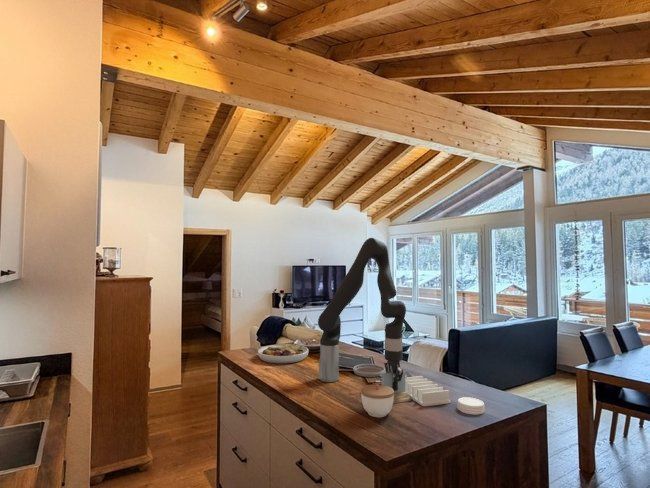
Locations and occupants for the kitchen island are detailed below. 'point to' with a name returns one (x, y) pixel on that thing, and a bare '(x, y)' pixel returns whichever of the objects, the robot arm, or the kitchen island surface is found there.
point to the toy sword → (369, 370)
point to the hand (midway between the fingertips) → (393, 389)
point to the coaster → (470, 405)
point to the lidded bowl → (377, 399)
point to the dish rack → (425, 391)
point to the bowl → (283, 353)
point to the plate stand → (401, 397)
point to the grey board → (388, 381)
